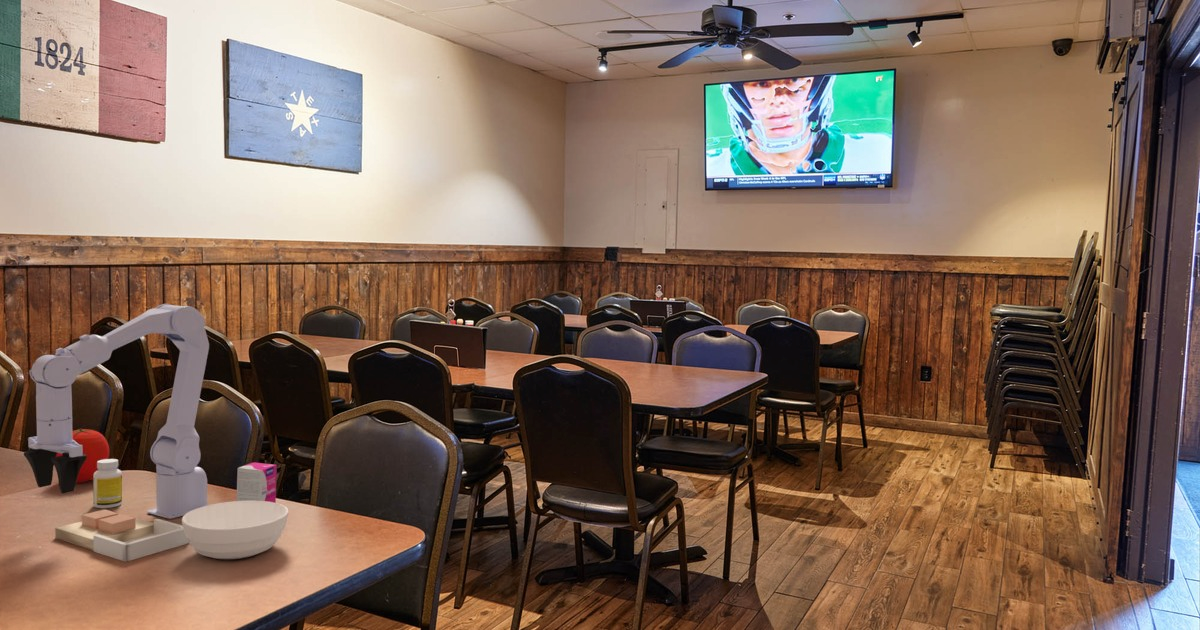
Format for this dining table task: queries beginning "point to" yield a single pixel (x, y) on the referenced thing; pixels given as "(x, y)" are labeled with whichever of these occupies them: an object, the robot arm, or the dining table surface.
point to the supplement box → (257, 482)
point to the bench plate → (100, 533)
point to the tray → (142, 542)
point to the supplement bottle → (107, 484)
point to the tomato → (90, 451)
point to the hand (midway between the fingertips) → (55, 489)
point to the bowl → (235, 528)
